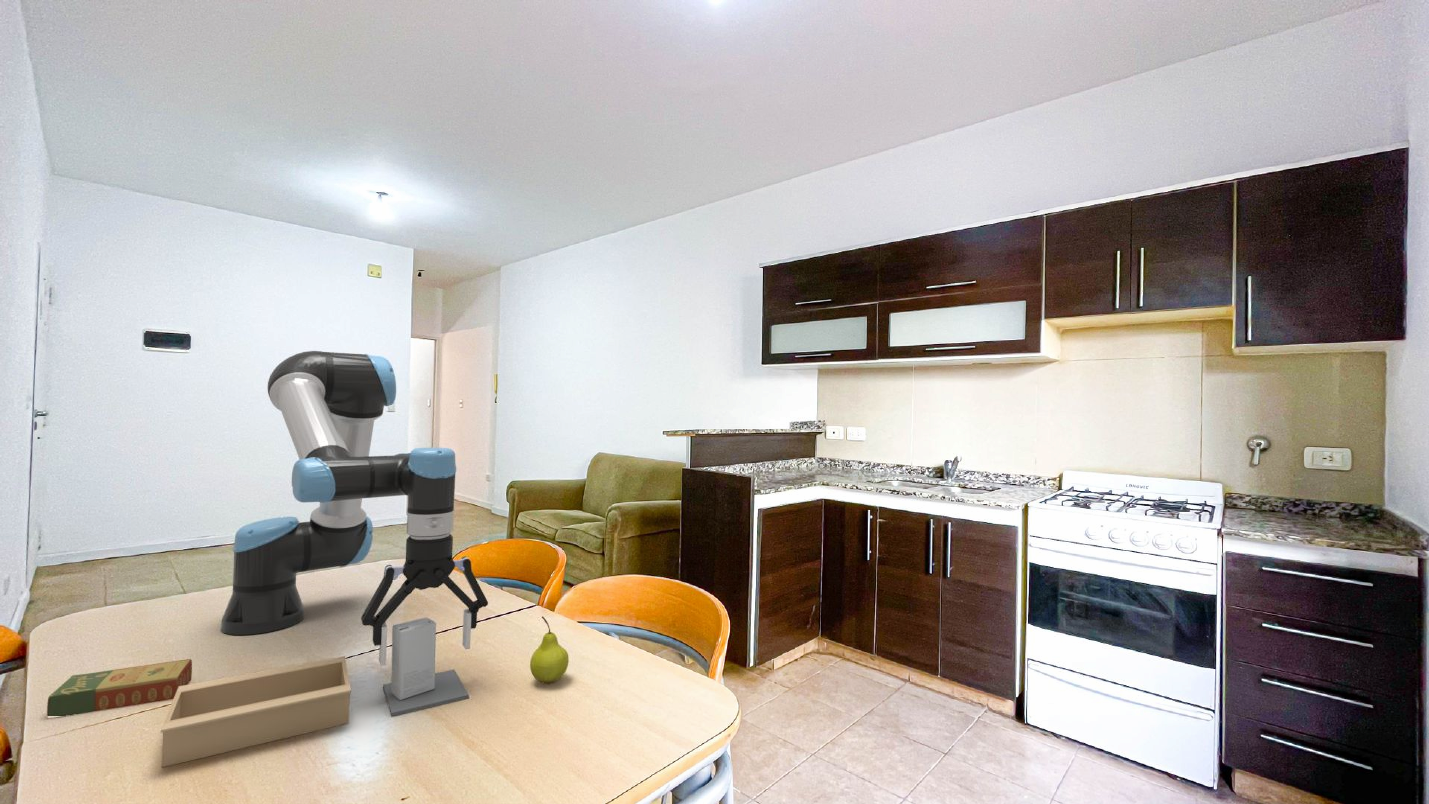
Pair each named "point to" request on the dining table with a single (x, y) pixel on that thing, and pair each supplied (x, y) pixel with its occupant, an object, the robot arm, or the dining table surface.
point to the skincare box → (413, 657)
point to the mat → (429, 694)
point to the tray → (255, 709)
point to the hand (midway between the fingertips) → (425, 654)
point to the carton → (119, 688)
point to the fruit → (549, 659)
